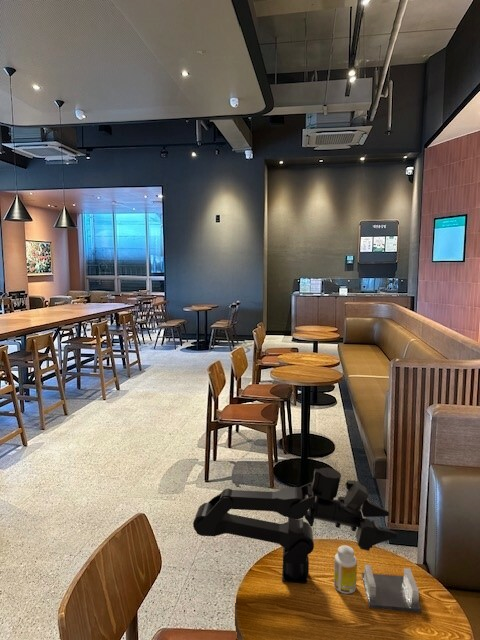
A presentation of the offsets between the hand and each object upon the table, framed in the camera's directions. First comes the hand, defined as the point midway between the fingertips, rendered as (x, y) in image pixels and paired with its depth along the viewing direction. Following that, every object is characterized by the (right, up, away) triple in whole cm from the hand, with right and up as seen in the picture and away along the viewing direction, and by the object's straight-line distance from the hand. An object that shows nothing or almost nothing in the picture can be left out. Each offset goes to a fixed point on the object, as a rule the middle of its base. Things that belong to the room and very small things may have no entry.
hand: (393, 524), depth 111 cm
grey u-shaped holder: (-2, -16, -3) cm, 17 cm away
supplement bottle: (-13, -16, 0) cm, 21 cm away
